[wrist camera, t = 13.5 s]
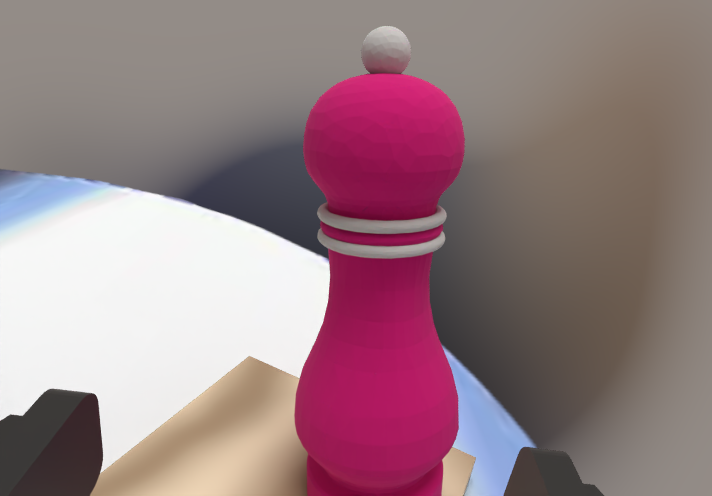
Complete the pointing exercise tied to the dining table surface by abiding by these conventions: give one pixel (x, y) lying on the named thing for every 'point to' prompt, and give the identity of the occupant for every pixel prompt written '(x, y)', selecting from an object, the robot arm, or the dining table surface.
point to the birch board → (235, 445)
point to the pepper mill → (380, 281)
